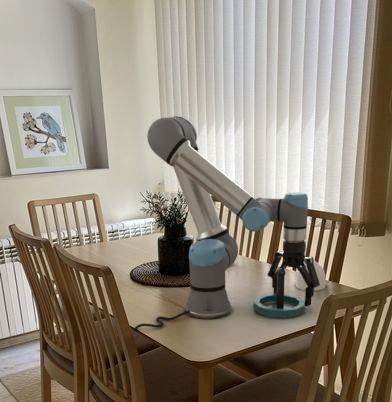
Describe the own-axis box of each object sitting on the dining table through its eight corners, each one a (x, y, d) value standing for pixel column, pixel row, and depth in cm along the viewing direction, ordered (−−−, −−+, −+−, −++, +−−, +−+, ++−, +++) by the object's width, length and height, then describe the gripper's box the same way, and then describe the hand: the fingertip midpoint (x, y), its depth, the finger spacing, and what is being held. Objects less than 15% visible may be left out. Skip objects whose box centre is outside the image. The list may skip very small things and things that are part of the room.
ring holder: (283, 316, 179) (284, 273, 174) (263, 310, 184) (263, 269, 179) (296, 309, 184) (298, 267, 179) (277, 304, 189) (278, 263, 184)
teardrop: (315, 280, 213) (317, 250, 209) (331, 288, 203) (332, 257, 199) (290, 283, 210) (291, 253, 206) (304, 292, 200) (305, 260, 196)
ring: (285, 321, 173) (285, 314, 172) (244, 309, 183) (244, 302, 183) (313, 307, 184) (314, 300, 183) (273, 296, 195) (273, 290, 194)
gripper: (333, 243, 176) (328, 306, 183) (271, 232, 192) (269, 290, 199) (320, 248, 171) (316, 312, 178) (258, 236, 187) (257, 296, 194)
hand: (291, 301), depth 189 cm, fingers closed on ring, 12 cm apart
